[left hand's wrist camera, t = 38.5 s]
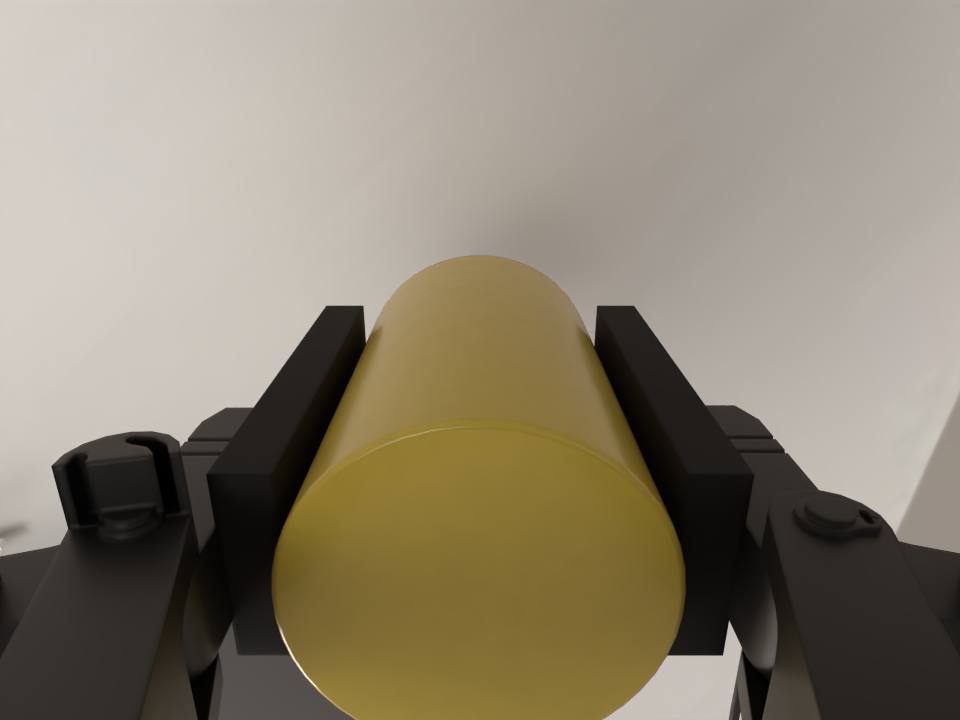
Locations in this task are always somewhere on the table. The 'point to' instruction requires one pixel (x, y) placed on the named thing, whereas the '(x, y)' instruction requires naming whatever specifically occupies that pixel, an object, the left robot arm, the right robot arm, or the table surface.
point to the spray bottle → (267, 687)
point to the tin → (478, 517)
